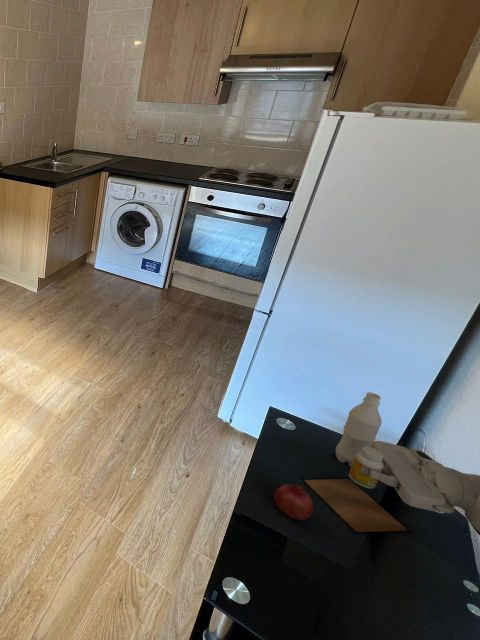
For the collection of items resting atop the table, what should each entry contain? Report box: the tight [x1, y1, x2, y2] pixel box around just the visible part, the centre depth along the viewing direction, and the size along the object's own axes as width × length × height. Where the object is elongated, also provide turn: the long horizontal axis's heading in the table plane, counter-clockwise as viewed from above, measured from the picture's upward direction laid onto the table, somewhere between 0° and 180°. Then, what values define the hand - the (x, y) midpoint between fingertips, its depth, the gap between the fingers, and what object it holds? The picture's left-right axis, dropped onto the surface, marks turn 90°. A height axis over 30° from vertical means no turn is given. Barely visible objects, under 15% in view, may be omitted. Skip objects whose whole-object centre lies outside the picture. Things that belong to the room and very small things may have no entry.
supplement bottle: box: [348, 446, 384, 489], centre depth 108 cm, size 5×5×10 cm
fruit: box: [273, 483, 314, 521], centre depth 108 cm, size 8×8×10 cm
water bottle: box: [334, 392, 382, 468], centre depth 123 cm, size 7×7×25 cm
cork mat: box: [303, 478, 408, 533], centre depth 112 cm, size 16×14×1 cm
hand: (363, 463), depth 108 cm, fingers closed on supplement bottle, 5 cm apart
